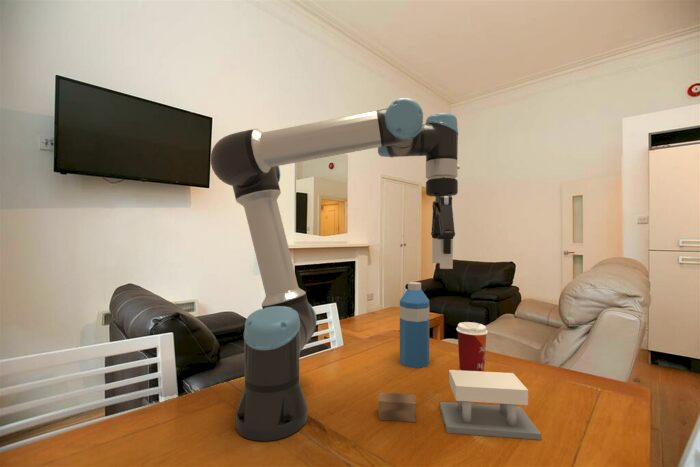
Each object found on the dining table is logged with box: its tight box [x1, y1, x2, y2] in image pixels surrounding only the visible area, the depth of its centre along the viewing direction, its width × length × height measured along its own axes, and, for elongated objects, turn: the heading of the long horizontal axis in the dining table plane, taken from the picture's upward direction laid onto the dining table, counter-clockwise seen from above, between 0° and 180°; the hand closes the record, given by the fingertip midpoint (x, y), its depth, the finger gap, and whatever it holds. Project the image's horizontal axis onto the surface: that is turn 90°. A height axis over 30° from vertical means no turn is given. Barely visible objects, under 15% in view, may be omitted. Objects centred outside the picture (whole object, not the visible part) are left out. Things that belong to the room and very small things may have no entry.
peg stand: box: [439, 401, 542, 441], centre depth 70 cm, size 18×10×6 cm, turn 83°
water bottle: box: [399, 281, 430, 369], centre depth 102 cm, size 9×9×25 cm
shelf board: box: [448, 369, 529, 406], centre depth 70 cm, size 14×8×3 cm, turn 83°
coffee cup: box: [455, 321, 488, 372], centre depth 91 cm, size 8×8×15 cm
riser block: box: [378, 391, 417, 423], centre depth 72 cm, size 8×4×4 cm, turn 83°
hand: (441, 265), depth 80 cm, fingers open, 13 cm apart
